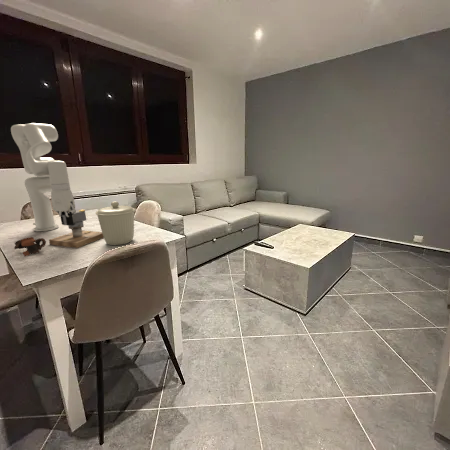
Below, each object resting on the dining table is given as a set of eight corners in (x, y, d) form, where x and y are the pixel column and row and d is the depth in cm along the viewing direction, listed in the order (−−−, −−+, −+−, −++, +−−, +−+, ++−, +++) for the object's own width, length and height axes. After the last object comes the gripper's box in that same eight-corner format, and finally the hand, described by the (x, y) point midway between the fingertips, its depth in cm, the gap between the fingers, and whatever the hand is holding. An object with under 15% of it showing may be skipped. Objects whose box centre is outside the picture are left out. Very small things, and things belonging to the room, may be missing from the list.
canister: (102, 239, 132) (96, 200, 127) (137, 235, 139) (133, 197, 133) (98, 250, 116) (91, 206, 110) (139, 245, 122) (134, 203, 117)
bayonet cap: (71, 230, 122) (68, 214, 120) (61, 229, 125) (58, 213, 123) (90, 225, 132) (87, 210, 130) (81, 224, 135) (78, 209, 133)
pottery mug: (16, 259, 108) (8, 242, 108) (24, 261, 116) (16, 245, 117) (47, 247, 113) (39, 231, 113) (52, 250, 122) (45, 235, 122)
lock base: (49, 244, 125) (46, 231, 123) (79, 234, 141) (77, 222, 140) (77, 248, 120) (74, 234, 118) (105, 236, 136) (103, 224, 134)
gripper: (41, 187, 118) (48, 224, 123) (66, 188, 113) (73, 227, 118) (55, 186, 125) (62, 221, 130) (80, 186, 120) (86, 223, 125)
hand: (67, 223), depth 124 cm, fingers closed on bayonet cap, 2 cm apart
